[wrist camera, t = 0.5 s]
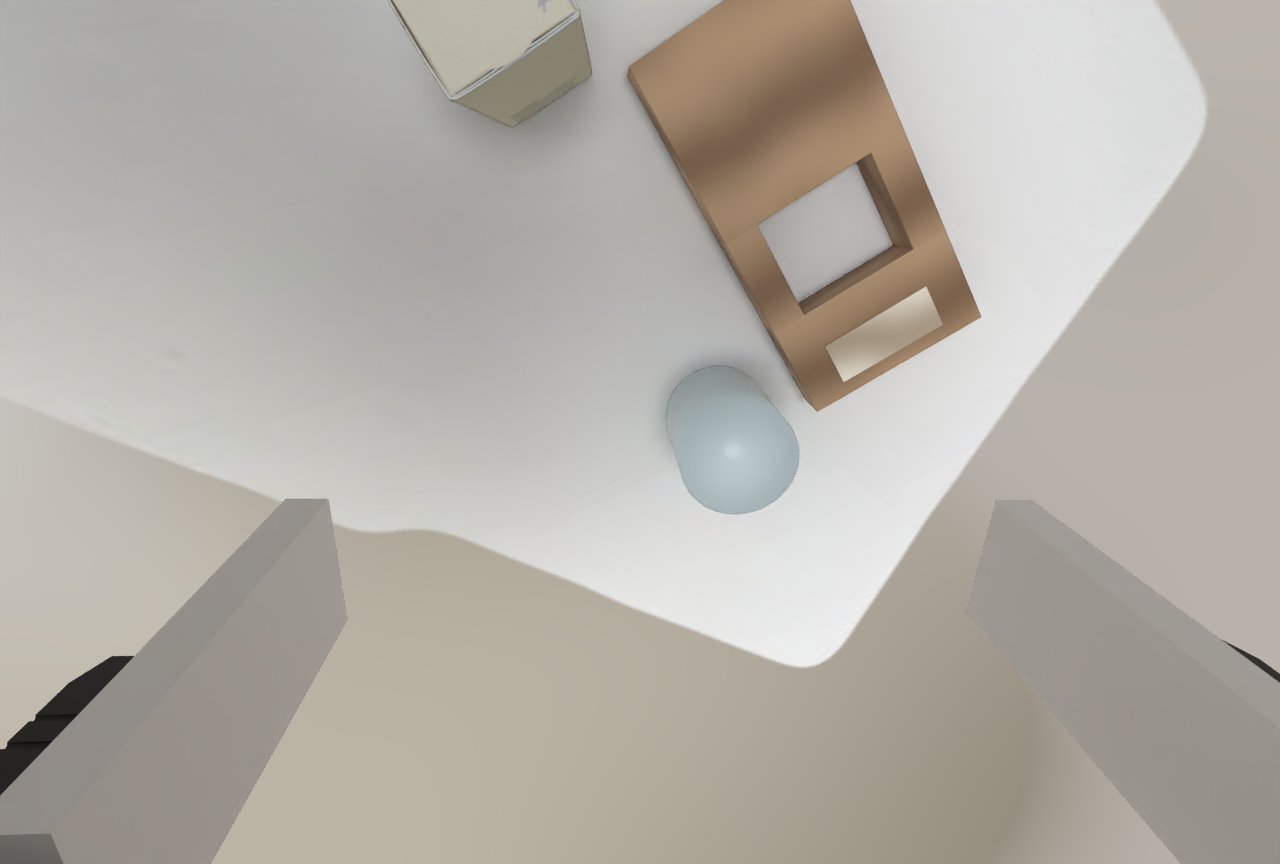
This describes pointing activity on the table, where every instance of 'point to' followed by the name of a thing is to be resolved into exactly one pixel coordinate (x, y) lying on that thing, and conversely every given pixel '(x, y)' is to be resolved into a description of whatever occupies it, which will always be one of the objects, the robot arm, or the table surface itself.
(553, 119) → the table surface
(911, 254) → the brown flat wooden slab
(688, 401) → the pale blue capsule
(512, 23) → the box
